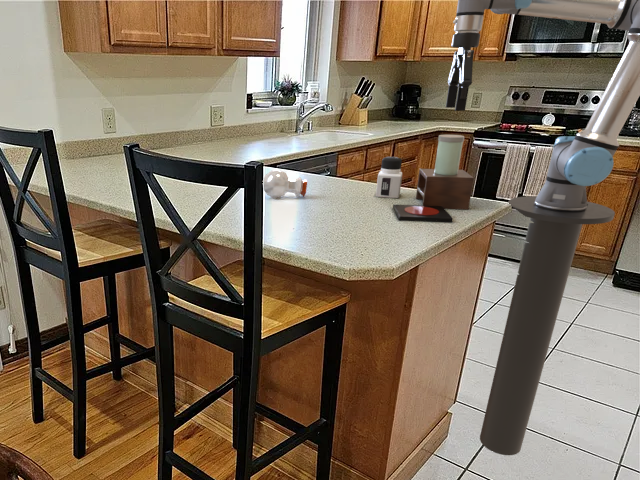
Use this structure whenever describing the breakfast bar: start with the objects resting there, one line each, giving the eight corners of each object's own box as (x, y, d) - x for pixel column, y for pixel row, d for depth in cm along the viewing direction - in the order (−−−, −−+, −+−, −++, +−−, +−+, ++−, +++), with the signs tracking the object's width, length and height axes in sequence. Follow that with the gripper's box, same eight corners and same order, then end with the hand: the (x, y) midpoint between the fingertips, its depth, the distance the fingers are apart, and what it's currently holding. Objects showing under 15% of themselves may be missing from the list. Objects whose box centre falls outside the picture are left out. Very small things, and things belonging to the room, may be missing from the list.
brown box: (458, 199, 178) (463, 169, 174) (468, 209, 166) (474, 177, 162) (415, 198, 180) (419, 168, 176) (422, 208, 168) (427, 176, 164)
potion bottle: (259, 200, 183) (301, 205, 184) (262, 189, 173) (307, 194, 174) (261, 175, 185) (303, 180, 186) (265, 163, 175) (309, 168, 176)
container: (398, 198, 180) (403, 159, 174) (375, 196, 182) (379, 158, 177) (399, 193, 186) (404, 156, 181) (377, 192, 189) (381, 155, 183)
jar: (455, 171, 172) (461, 134, 167) (460, 175, 165) (467, 137, 160) (431, 170, 173) (436, 134, 168) (435, 174, 166) (441, 137, 161)
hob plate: (441, 209, 166) (442, 205, 165) (452, 222, 152) (452, 217, 151) (392, 208, 167) (393, 203, 167) (398, 220, 154) (399, 215, 153)
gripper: (445, 35, 166) (435, 106, 175) (463, 30, 144) (450, 111, 152) (469, 34, 165) (458, 106, 174) (492, 29, 143) (477, 112, 151)
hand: (454, 109), depth 163 cm, fingers open, 13 cm apart
